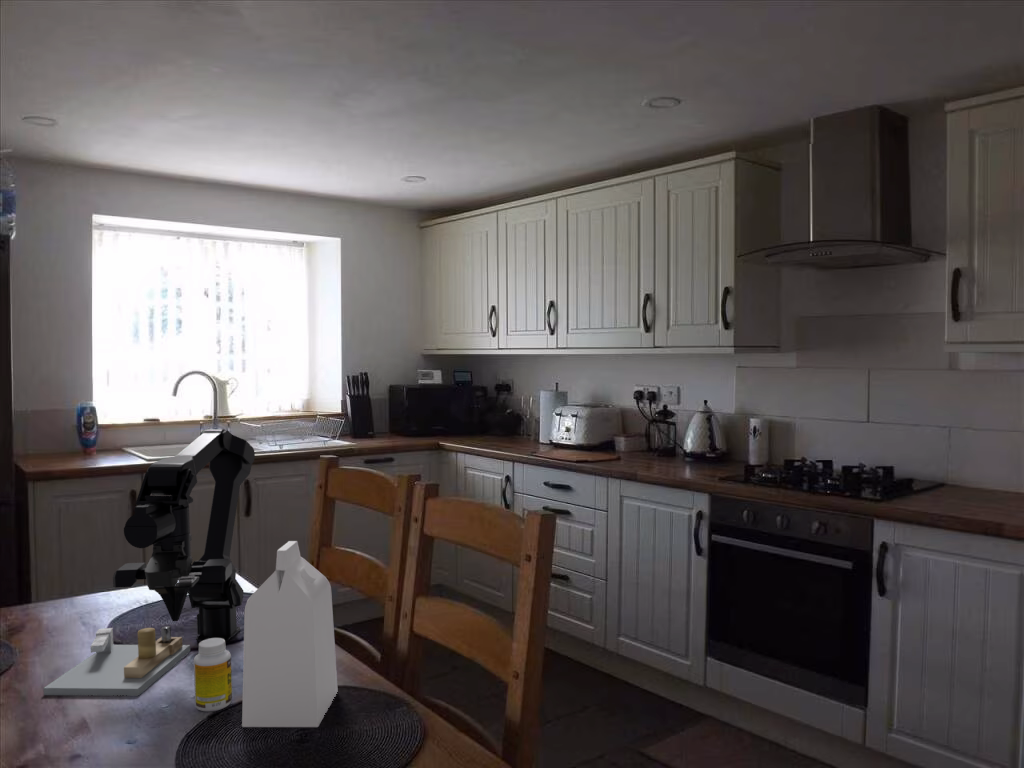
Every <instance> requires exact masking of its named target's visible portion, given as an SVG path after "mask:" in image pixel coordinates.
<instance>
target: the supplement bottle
mask: <svg viewBox="0 0 1024 768" xmlns="http://www.w3.org/2000/svg"><path fill="white" fill-rule="evenodd" d="M193 676H194V677H193V678H194V679H193V681H194V683H193V684H194V704H195V708H196V709H197V710H199V711H201V712H215V711H219V710H222V709H224V708H226V707H228V706H230V704H231V703H232V700H233V687H232V686H233V685H232V684H233V681H232V680H233V679H232V655H231V652H230V651H229V650H227V649H226V641H225V640H224V639H222V638H210V639H206V640H203V641H199V643H198V653H197V654H196V655H195V656H194V658H193Z"/></svg>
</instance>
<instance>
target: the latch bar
mask: <svg viewBox="0 0 1024 768" xmlns="http://www.w3.org/2000/svg"><path fill="white" fill-rule="evenodd" d="M137 645H138V657H137V658H135V659H134V660H133V661H132V662H130V663H129V664H128V665H126V666H125V667H124V678H142V677H143V676H144V675H146V674H147V673H148V672H149V671H151V670H152V669H153V668H154V667H155V666H157V665H158V664H159V663H160V662H162V661H163V660H164V659H165V658H166V657H168V656H169V655H173V654H174V653H175V652H176V651H178V650H179V649H180V648H181V647H182V645H183V637H182V636H171V643H162V636H160V637H159V638H157V640H156V629H155V628H154V627H145V628H141V629H139V630H138V631H137Z"/></svg>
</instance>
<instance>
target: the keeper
mask: <svg viewBox="0 0 1024 768" xmlns="http://www.w3.org/2000/svg"><path fill="white" fill-rule="evenodd" d="M113 630H114V628H113V627H107V628H99V629H97V631H96V633H95V638H94V640H93V641H92V643H91V645H90V653H96V652H97V654H101V653H110V652H112V650H113V645H114V631H113Z"/></svg>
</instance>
